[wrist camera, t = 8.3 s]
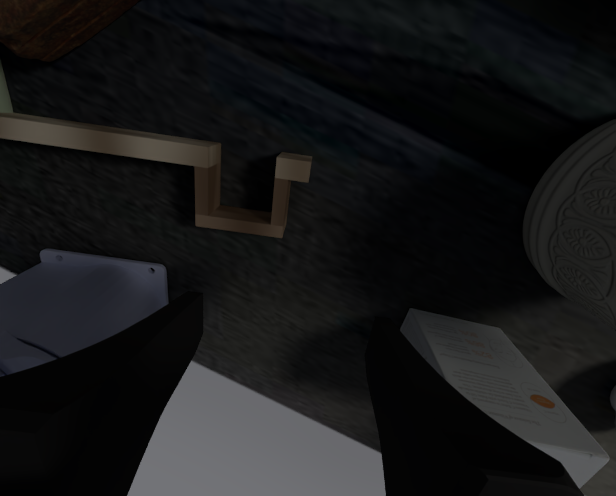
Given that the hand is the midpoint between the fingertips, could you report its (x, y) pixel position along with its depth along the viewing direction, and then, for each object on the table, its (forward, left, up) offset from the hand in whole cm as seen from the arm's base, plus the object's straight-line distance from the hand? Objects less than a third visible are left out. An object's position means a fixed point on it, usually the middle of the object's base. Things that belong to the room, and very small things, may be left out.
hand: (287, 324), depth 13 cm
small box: (+13, -8, -11) cm, 19 cm away
